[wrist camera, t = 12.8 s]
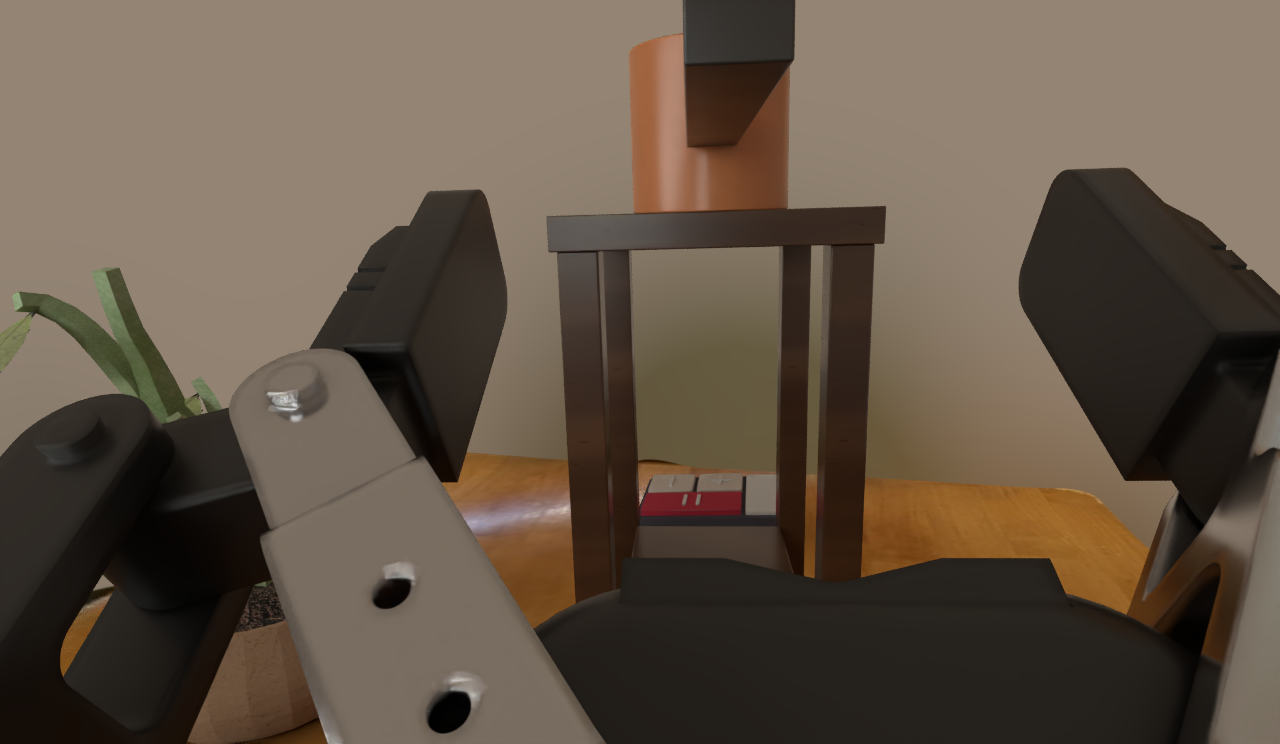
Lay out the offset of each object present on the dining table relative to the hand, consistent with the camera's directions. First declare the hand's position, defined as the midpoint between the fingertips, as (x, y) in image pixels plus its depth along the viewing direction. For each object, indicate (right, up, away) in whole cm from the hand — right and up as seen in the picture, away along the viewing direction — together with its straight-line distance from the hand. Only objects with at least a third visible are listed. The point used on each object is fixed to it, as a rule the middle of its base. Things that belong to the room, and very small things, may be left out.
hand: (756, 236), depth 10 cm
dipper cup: (+1, +4, +16) cm, 17 cm away
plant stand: (+3, -25, +34) cm, 42 cm away
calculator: (+6, -18, +64) cm, 67 cm away
